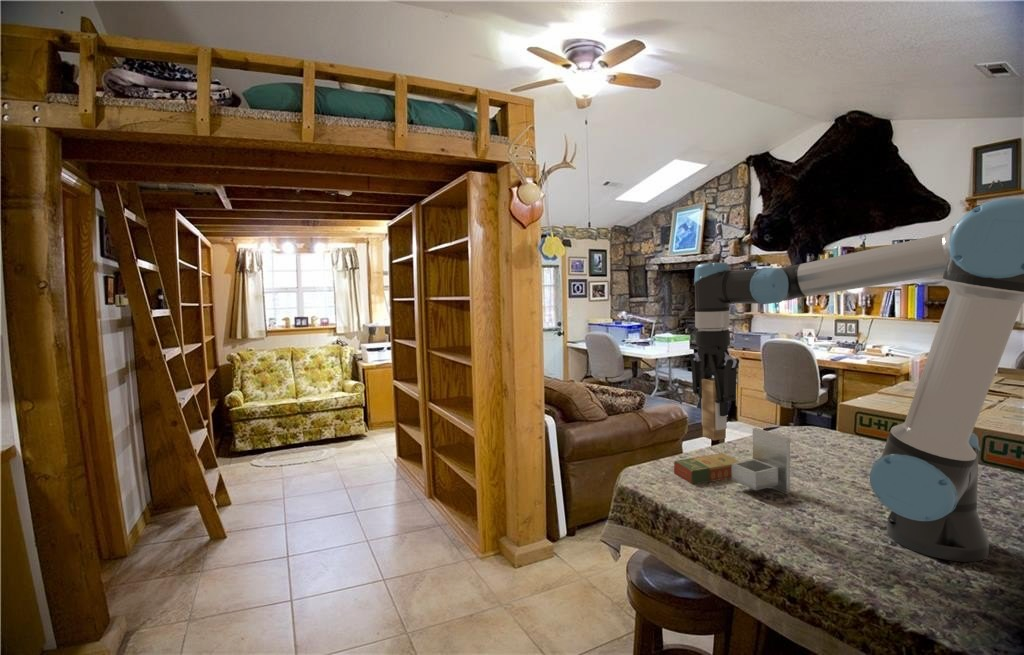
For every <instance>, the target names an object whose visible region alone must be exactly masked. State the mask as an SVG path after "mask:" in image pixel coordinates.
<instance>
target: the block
mask: <svg viewBox="0 0 1024 655" xmlns="http://www.w3.org/2000/svg"><path fill="white" fill-rule="evenodd" d="M723 397H724V396H723ZM716 400H718V399H717V392H716V386H715V379H714V377H712V378H708V379H702V410H701V423H702V422H703V425H702V437H704V438H706V439H708V440H712V441H719V440H723V439H726V438H727V434H726V432H727V431H726V429H727V428H726V429H721V430H716V429H715V401H716Z"/></svg>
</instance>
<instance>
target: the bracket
mask: <svg viewBox="0 0 1024 655" xmlns="http://www.w3.org/2000/svg"><path fill="white" fill-rule="evenodd" d="M731 481H733V482H735V483H738V484H739V485H742V486H744V487H747V488H749V489H751V490H754V491H760V490H763V489H767V488H769V489H773V490H776V491H778V492H780V493H782V494H785V495H789V494H791V437H788V436H785V435H782V434H778V433H775V432H771V431H768V430H765V429H762V428H757V427H754V428H752V458H751V459H746V460H742V461H740V462H736V463H732V478H731Z"/></svg>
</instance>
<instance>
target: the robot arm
mask: <svg viewBox="0 0 1024 655" xmlns="http://www.w3.org/2000/svg"><path fill="white" fill-rule="evenodd" d="M937 276H942V279H941V281H942V282H943V284H944V285H945V286H946V287H947V288H948V291H949V294H948V297H947V300H946V302H945V303H946V304H945V305H944V309H943V310H942V311H943V312H942V314H941V316H940V319H939V324H938V325H937V329H936V332H935V334H934V337H933V340H932V344H931V346H930V348H929V352H928V355H927V357H926V360H925V362H924V363H925V364H924V366H923V368H922V369H923V370H922V372H921V374H920V377H919V381H918V383H917V386H916V389H915V392H914V394H913V398H912V400H911V403H910V406H909V409H908V412H907V414H906V418H905V420H904V422H903V423H899V424H896V425H894V426H892V427H891V429H890V430H889V433H888V436H887V439H886V442H885V445H884V447H883V450H882V454H881V456H880V457H879V458H877V460H875V461H874V463H873V464H872V466H871V469H870V472H869V484H870V487H871V489H872V492H873V494H875V496H876V497H877V498H878V501H880V502H881V504H882V505H883V506H885V507H886V508H887V509H888V510H890V513H889V515H888V518H887V520H886V533H887V535H888V536H889V537H890V539H892V540H894V541H895V542H896V543H898V544H899V545H901V546H902V547H905V548H907V549H909V550H911V551H914V552H916V553H919V554H922V555H924V556H925V555H926V556H929V557H933V558H936V559H940V560H947V561H953V562H965V563H969V562H971V563H972V562H980V561H983V560H985V559H987V557H989V554H990V553H989V550H990V549H989V548H990V542H989V539H988V536H987V534H986V532H985V529H984V526H983V524H982V521H981V518H980V516H979V513H978V484H979V483H978V482H979V480H978V479H979V477H978V476H979V452H980V451H981V447H980V445H979V438H978V436H977V434H975V433H974V432H973V431H974V429H975V426H976V423H977V421H978V418H979V416H980V413H981V410H982V408H983V406H984V404H985V401H986V398H987V395H988V393H989V391H990V388H991V385H992V383H993V380H994V377H995V374H996V372H997V370H998V367H999V365H1000V362H1001V359H1002V357H1003V354H1004V352H1005V350H1006V347H1007V345H1008V342H1009V339H1010V336H1011V334H1012V331H1013V328H1014V327H1015V324H1016V321H1017V319H1018V316H1019V313H1020V311H1021V308H1022V306H1023V304H1024V197H1016V198H1015V197H1013V198H1012V197H1011V198H1008V197H1005V198H1000V199H994V200H992V201H991V200H990V201H989V202H985V203H982V204H980V205H978V206H975V207H974V208H973V209H971V210H969V211H967V213H965V214H964V215H963V216H962V217H961V218H959V220H957V222H956V224H954V225H951V226H950V228H949V229H948V230H947V231H946V232H944V233H940V234H935V235H931V236H926V237H922V238H916V239H912V240H908V241H903V242H898V243H894V244H889V245H883V246H879V247H875V248H870V249H866V250H861V251H857V252H856V251H855V252H851V253H845V254H842V255H841V254H840V255H837V256H833V257H828V258H823V259H818V260H814V261H810V262H809V261H808V262H804V263H799V264H794V265H789V266H785V267H761V268H752V269H751V268H749V269H740V270H739V269H737V270H734V269H733V270H732V269H730V265H729V263H727V262H713V263H712V262H711V263H709V262H708V263H699V264H697V265H696V266H695V268H694V282H693V285H694V302H695V303H694V304H695V307H694V327H695V328H696V329H697V330H696V331H695V332H694V334H695V345H696V346H698V349H697V350H696V351H697V352H695V353H689V354H688V356H689V361H690V365H691V379H692V380H691V382H692V393H693V394H694V395H697V396H698V398H699V409H700V411H702V379H708V378H714V379H715V386H716V392H717V399H718V400H716V401H715V429H716V430H721V429H727V428H728V426H727V419H728V418H727V417H728V415H729V402H731V401H735V400H737V399H736V398H737V371H738V366H739V363H740V360H739V358H733V357H732V356H730V353H729V350H728V347H729V346H730V344H731V331H730V330H729V329H728V328H730V321H731V320H730V305H731V304H733V305H734V304H746V305H747V304H751V305H753V304H762V305H771V304H779V303H781V302H784V301H785V302H786V301H791V300H795V299H800V298H805V297H811V296H818V295H824V294H831V293H836V292H842V291H843V292H844V291H850V290H855V289H862V288H867V287H873V286H874V287H875V286H881V285H882V286H883V285H887V284H888V285H889V284H893V283H899V282H906V281H911V280H918V279H924V278H930V277H937ZM723 396H724V397H723ZM701 426H703V422H702V421H701Z"/></svg>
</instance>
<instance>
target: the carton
mask: <svg viewBox="0 0 1024 655" xmlns="http://www.w3.org/2000/svg"><path fill="white" fill-rule="evenodd" d="M736 462H741V461H740V460H738V459H737V458H734V457H732V456H730V455H727V454H725V453H722V452H721V453H717V454H715V453H714V454H710V455H704V456H697V457H691V458H686V459H685V458H684V459H680V460H674V464H673V474H674V475H675V476H678V477H679V478H681V479H682V480H684V481H685V482H688V483H689V484H690V485H695V484H696V485H697V484H701V482H702V483H707V482H706V481H708V482H714V481H720V480H725V478H726V479H730V478H731V477H732V463H736ZM719 479H720V480H719ZM731 479H732V478H731ZM713 480H714V481H713Z"/></svg>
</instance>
